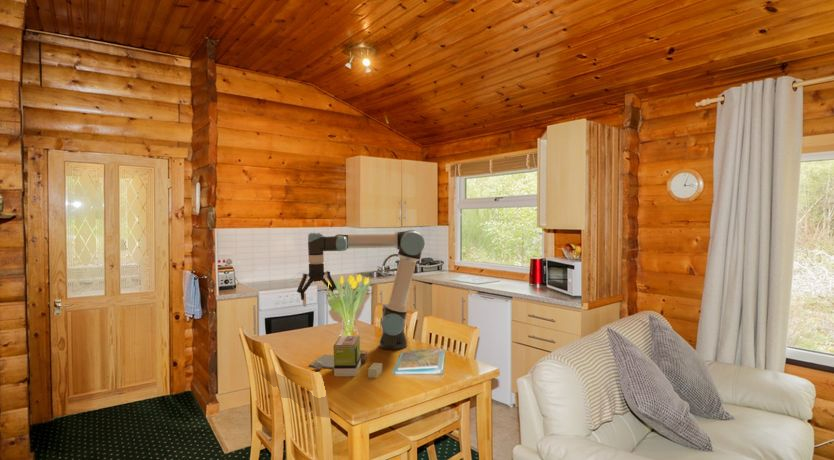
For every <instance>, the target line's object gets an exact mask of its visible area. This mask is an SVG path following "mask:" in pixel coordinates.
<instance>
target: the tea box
mask: <svg viewBox="0 0 834 460" xmlns="http://www.w3.org/2000/svg"><path fill="white" fill-rule="evenodd" d="M360 337H361V336H360V335H339V337H338V338H337V340H336V341H335V342H334V344H333V355H334V369H333V371H334V372H333V373H334V377H356V376H357V374H358V371H359V369H360V367H361V365H362V364H361V359H360V350H361V340H360V339H361V338H360Z"/></svg>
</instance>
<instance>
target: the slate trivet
mask: <svg viewBox="0 0 834 460" xmlns="http://www.w3.org/2000/svg"><path fill="white" fill-rule="evenodd" d="M316 361H321V362H322V363H323V367H322V368H321V369H331V370H334V354H323V355H322V356H320V357H318V358H316V359H315V360H314V361H312V362H311V363H310V364H309V363H308V367H310V368H311V367H312V368H315V367H314V364H315V362H316Z"/></svg>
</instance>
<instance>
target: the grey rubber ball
mask: <svg viewBox="0 0 834 460" xmlns="http://www.w3.org/2000/svg"><path fill="white" fill-rule="evenodd" d="M322 367H323V363H322V362H321V361H316V362H315V364H314V367H313V368H314V369H315V370H321V369H323V368H322Z"/></svg>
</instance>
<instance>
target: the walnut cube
mask: <svg viewBox="0 0 834 460" xmlns="http://www.w3.org/2000/svg"><path fill="white" fill-rule="evenodd" d="M367 356H368V355H367V350H366V349H365V350H364V349H362V350H361V349H360V359H361V365H362V364H366V363H367V359H368V358H367Z"/></svg>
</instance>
